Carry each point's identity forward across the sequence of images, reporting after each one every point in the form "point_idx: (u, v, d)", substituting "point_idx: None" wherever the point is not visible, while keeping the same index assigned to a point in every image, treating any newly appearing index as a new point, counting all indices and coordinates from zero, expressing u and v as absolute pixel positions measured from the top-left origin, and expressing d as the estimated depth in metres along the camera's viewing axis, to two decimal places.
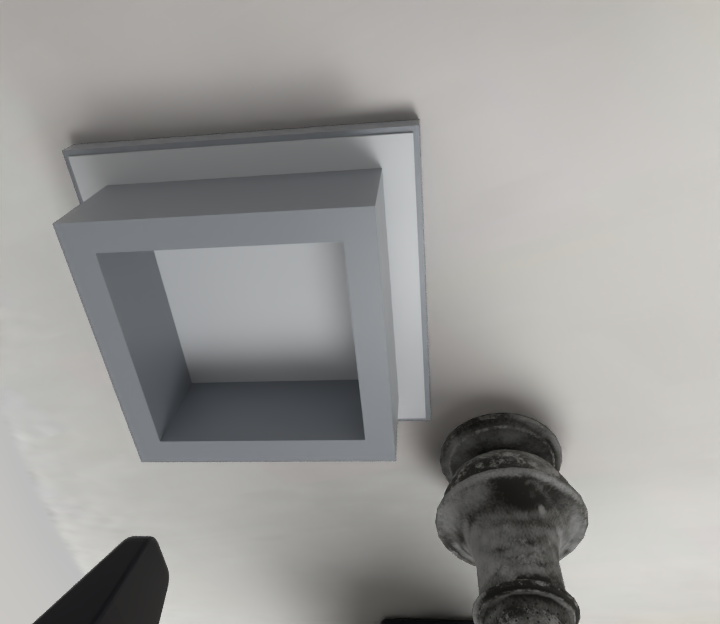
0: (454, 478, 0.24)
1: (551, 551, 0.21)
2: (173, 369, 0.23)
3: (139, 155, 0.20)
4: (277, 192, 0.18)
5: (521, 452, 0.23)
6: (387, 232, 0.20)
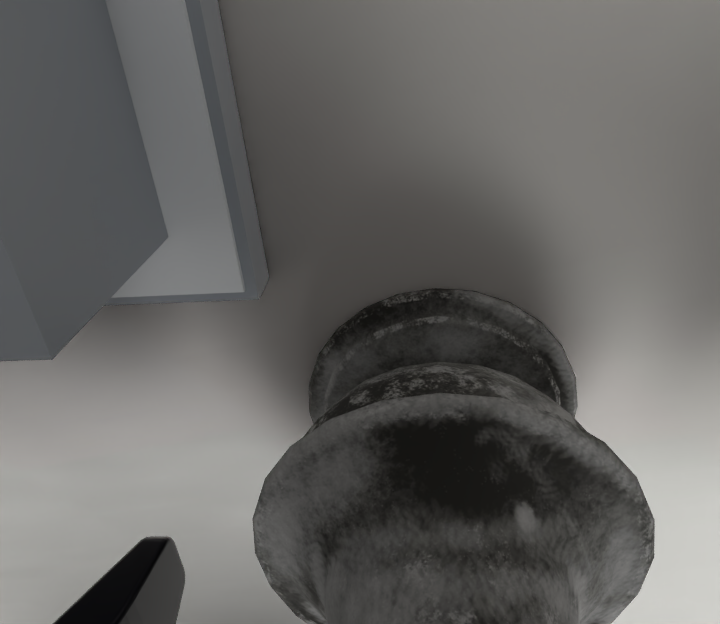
0: (304, 437, 0.09)
1: None
2: None
3: None
4: None
5: (474, 366, 0.09)
6: None
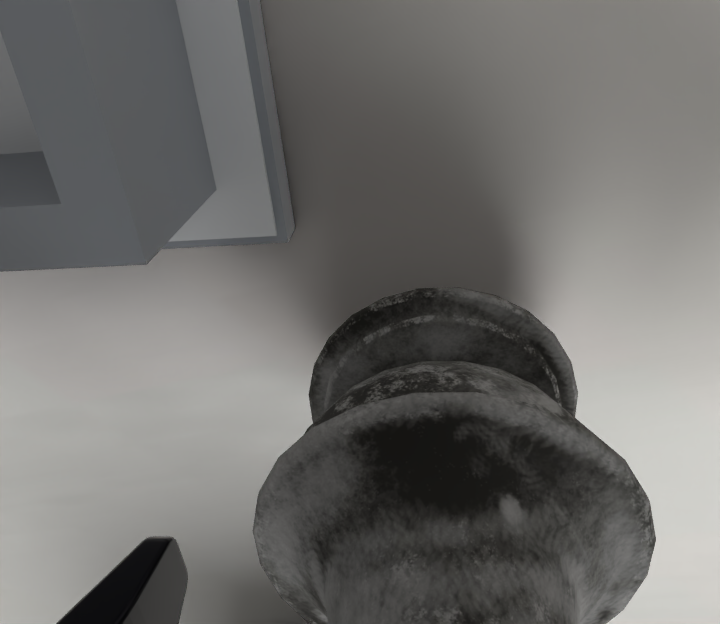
0: None
1: None
2: None
3: None
4: None
5: (457, 363, 0.09)
6: None
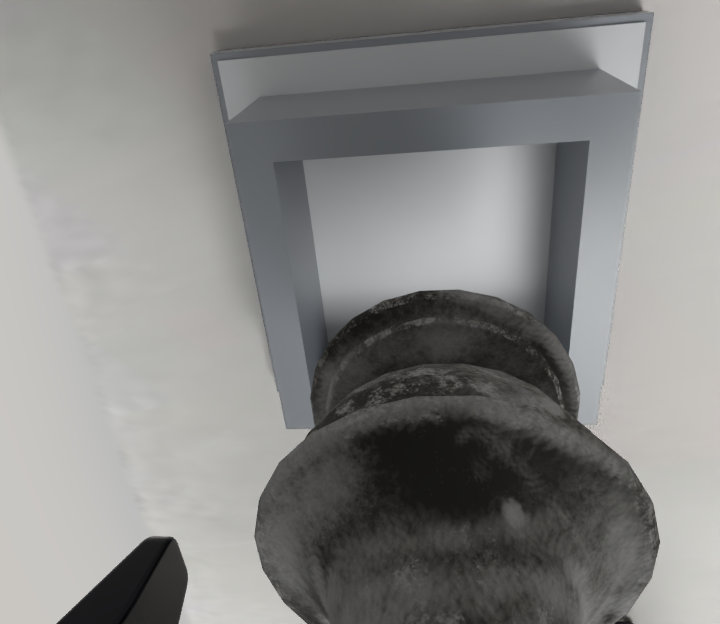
0: None
1: None
2: (318, 322, 0.20)
3: (303, 57, 0.17)
4: (491, 89, 0.15)
5: (458, 366, 0.09)
6: None
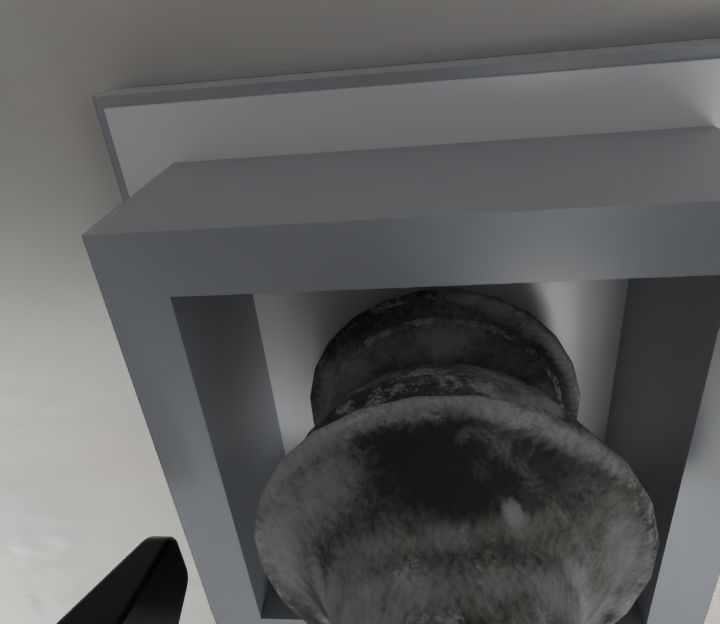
0: None
1: None
2: None
3: (238, 104, 0.11)
4: (545, 169, 0.09)
5: (458, 366, 0.09)
6: None
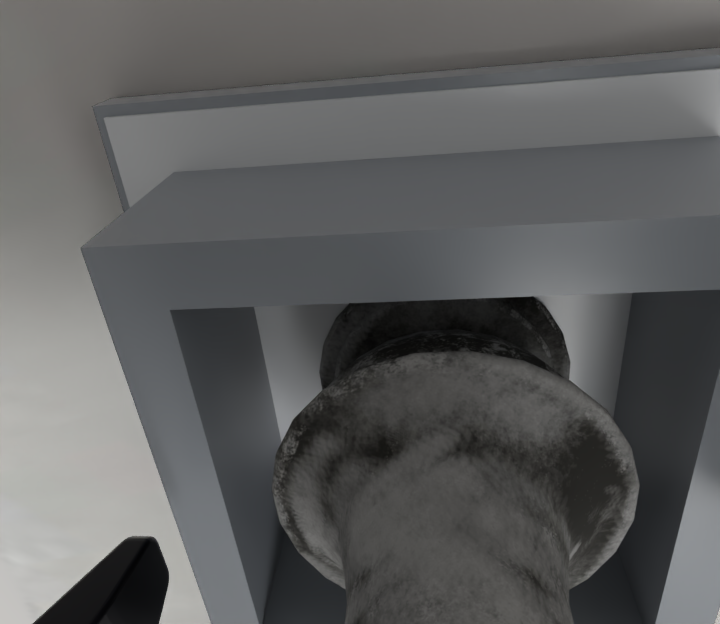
0: (475, 340, 0.09)
1: None
2: None
3: (239, 113, 0.10)
4: (549, 181, 0.09)
5: None
6: None
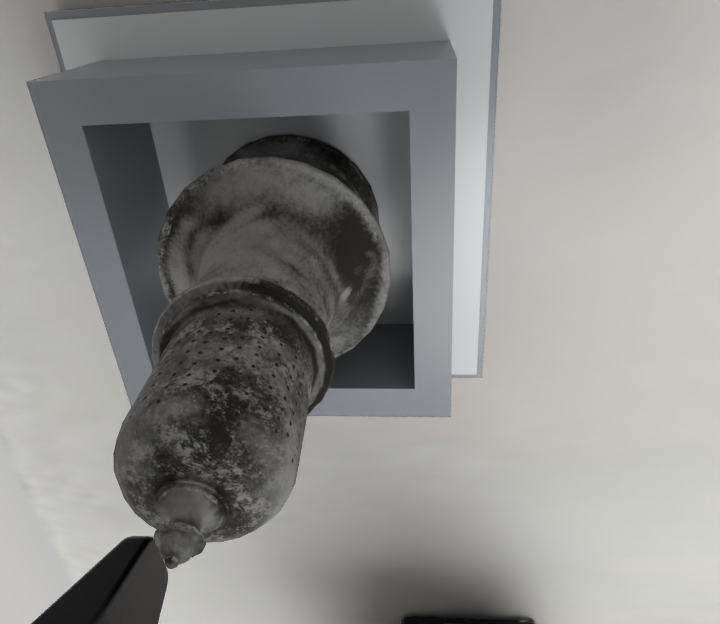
0: None
1: None
2: None
3: (142, 19, 0.16)
4: (320, 56, 0.14)
5: None
6: None
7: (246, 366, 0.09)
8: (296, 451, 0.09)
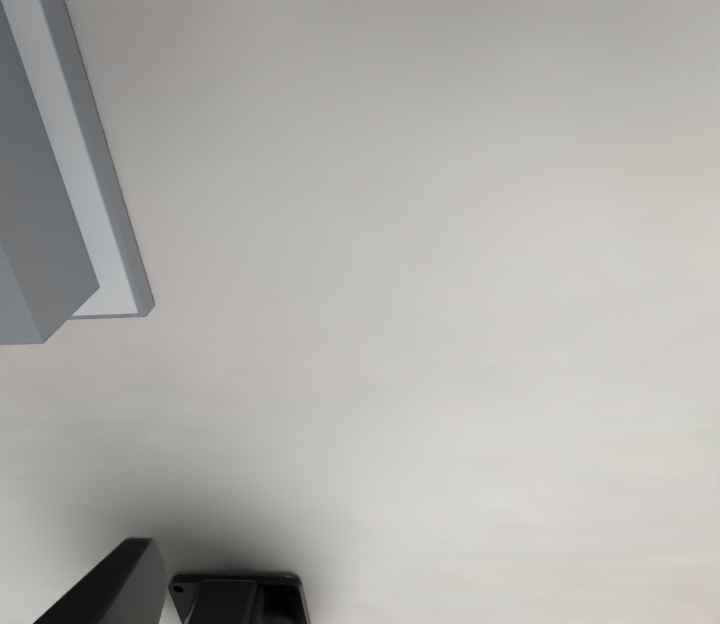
0: None
1: None
2: None
3: None
4: None
5: None
6: (20, 56, 0.16)
7: None
8: None
